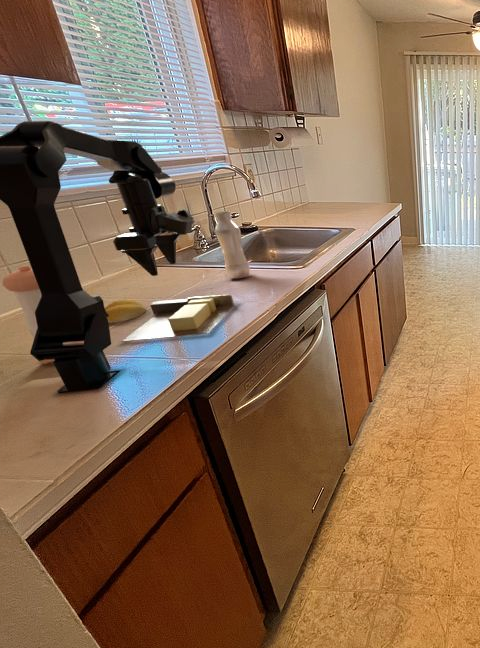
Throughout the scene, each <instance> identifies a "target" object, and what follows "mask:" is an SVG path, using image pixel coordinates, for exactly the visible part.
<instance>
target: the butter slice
mask: <svg viewBox="0 0 480 648" xmlns="http://www.w3.org/2000/svg"><path fill="white" fill-rule="evenodd" d="M205 303H208V306H209V309H210V312H214V311H215V310H216V306H215V303H214V300H213V298H211V299H199V300H190V301H189V302H188V305H193V304H205Z"/></svg>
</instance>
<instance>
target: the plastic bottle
mask: <svg viewBox="0 0 480 648" xmlns="http://www.w3.org/2000/svg"><path fill="white" fill-rule="evenodd" d="M214 215H215V219H216V220H217V224H216V225H215V228H214V234H215V236H216V238H217V241H218V243H219V245H220V249H221V250H222V255H223V259H224V269H225V273H226V275H227V277H228V278H230V279H242V278H247V277H249V276H250V274H251V267H250V264H249V262H248V261H247V258H246V255H245V251H244V249H243V242H242V234H241V233H242V232H241V229H240V227H239V226H238V225H237V223H235V222H234V221H233V220H232V219H233V218H232V216H231V212H230V211H219V212H215V214H214Z"/></svg>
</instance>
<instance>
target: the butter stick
mask: <svg viewBox="0 0 480 648" xmlns="http://www.w3.org/2000/svg"><path fill="white" fill-rule="evenodd" d="M210 315H211V312H210V309H209V306H208V303H205V304H193V305H184V306H183V307H182V308H181V309H180V310H178V311H177V312H176V313H175V314H174V315H172V316H171V317H170V318H169V319H168V320H169V323H170V326H171V328H172V331H178V330H189V329H197V328H198V327H199V326H200V325H201V324H202V323H203V322H204V321H205V320H206V319H207V318H208V317H209V316H210Z"/></svg>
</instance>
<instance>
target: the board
mask: <svg viewBox="0 0 480 648" xmlns="http://www.w3.org/2000/svg"><path fill="white" fill-rule="evenodd" d="M236 304H237V301H235V302H234V306H235V305H236ZM234 306H222V307H216V310H215V311H214V312H211V315H210V316H209V317H208V318H207V319H206V320H205V321H204V322H203V323H202V324H201V325H200V326H199V327H198V328H197V329H189V330H178V331H172V328H171V326H170V323H169V320H168V319H169V318H170V317H171V316H172V315H174V314H175V313H176V312H165V313H156V314H155V315H154V316H152V317H151V318H150V319H148V321H146V322H144V323H143V324H142V325H140V327H138V328H137V329H136V330H134V331H133V332H132V333H130V334H129V335H127V336H126V337H125V338H124V339H123V340H122V342H132V341H142V340H143V341H144V340H152V339H165V338H174V337H184V336H195V335H197V336H198V335H208V334H210V333H211V331H213V329H215V327H216V326H217V325H218V324H219V323H220V322H221V321H222V319H223V318H224V317H226V316H227V314H228V313H229V312H230V311H231V310H232V309H233V308H234Z"/></svg>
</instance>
